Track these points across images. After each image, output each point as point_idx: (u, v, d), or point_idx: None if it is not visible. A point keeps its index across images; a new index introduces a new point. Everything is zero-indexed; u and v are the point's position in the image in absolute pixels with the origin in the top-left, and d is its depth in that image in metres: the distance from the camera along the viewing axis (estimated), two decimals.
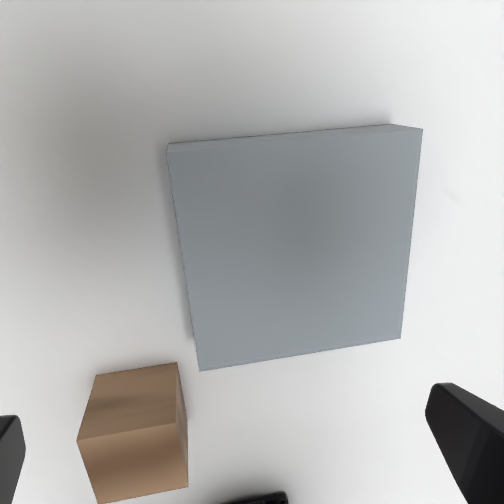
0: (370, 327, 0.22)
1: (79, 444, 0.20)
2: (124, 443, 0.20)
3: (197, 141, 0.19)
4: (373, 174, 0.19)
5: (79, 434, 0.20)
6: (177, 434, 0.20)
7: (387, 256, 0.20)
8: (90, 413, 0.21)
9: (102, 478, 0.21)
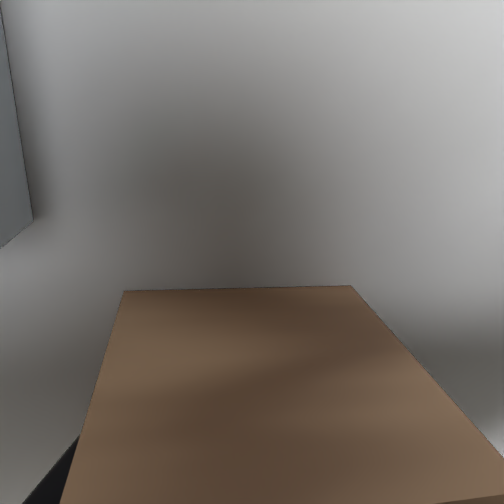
0: None
1: None
2: None
3: None
4: None
5: None
6: None
7: None
8: None
9: None
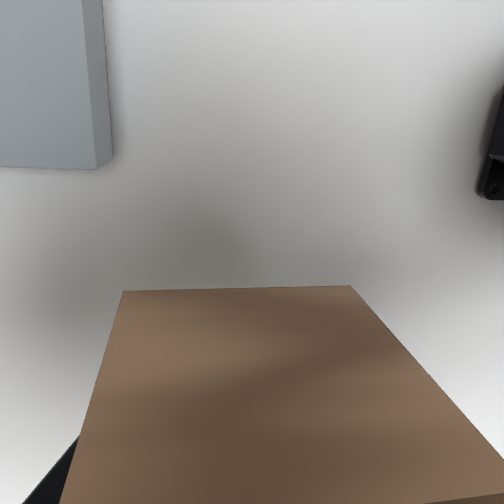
0: None
1: None
2: None
3: None
4: None
5: None
6: None
7: None
8: None
9: None
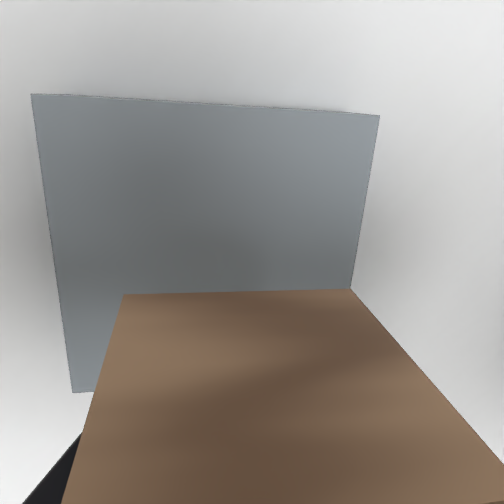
0: (343, 167, 0.15)
1: None
2: None
3: None
4: (100, 169, 0.13)
5: None
6: None
7: (230, 144, 0.14)
8: None
9: None
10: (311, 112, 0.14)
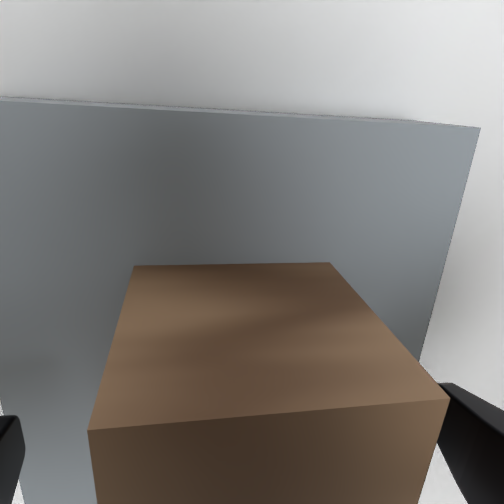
0: (421, 204, 0.10)
1: None
2: None
3: None
4: (53, 214, 0.09)
5: None
6: (163, 421, 0.05)
7: (255, 174, 0.09)
8: None
9: None
10: (380, 124, 0.09)
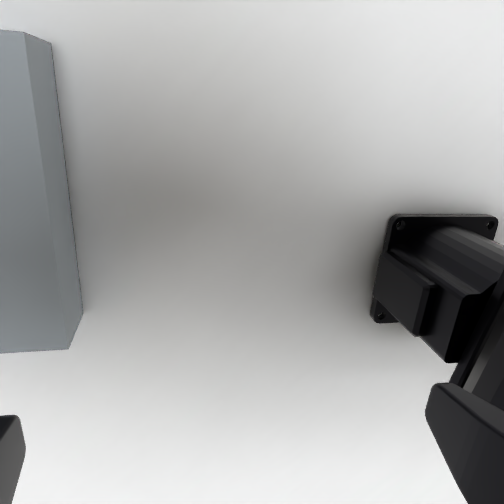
0: None
1: None
2: None
3: None
4: None
5: None
6: None
7: None
8: None
9: None
10: None
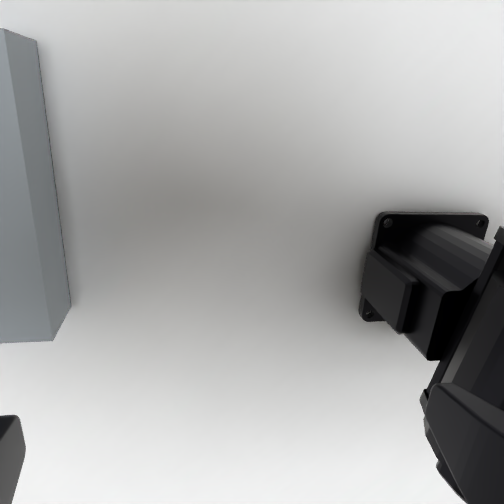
0: None
1: None
2: None
3: None
4: None
5: None
6: None
7: None
8: None
9: None
10: None
